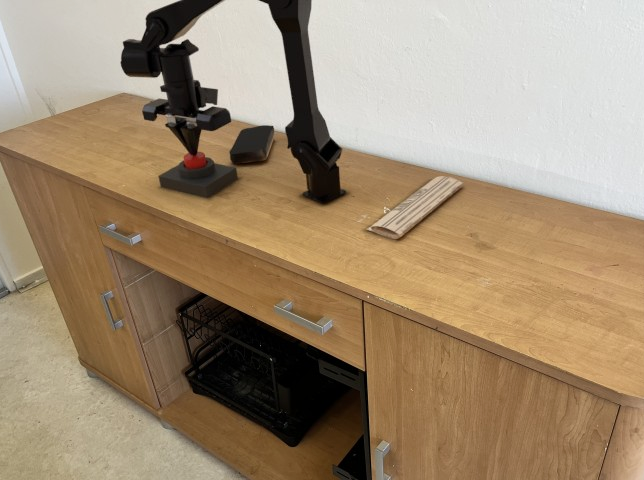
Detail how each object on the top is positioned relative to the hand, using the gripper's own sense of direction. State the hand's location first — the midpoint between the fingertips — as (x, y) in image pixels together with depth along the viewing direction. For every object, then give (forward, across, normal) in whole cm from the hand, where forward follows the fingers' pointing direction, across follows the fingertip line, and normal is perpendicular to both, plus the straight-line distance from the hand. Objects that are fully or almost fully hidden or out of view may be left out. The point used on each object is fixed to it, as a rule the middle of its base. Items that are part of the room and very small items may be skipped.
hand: (194, 154), depth 127 cm
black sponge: (+7, -1, -18) cm, 20 cm away
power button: (+2, 0, 0) cm, 2 cm away
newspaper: (+7, -47, -8) cm, 48 cm away
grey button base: (+6, 0, 0) cm, 6 cm away
